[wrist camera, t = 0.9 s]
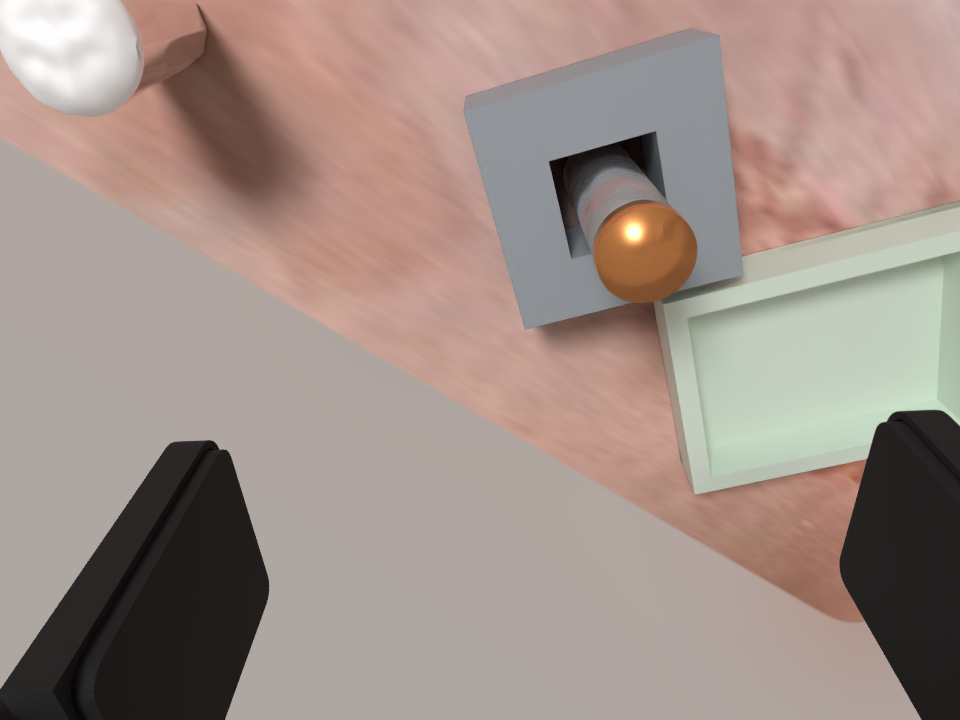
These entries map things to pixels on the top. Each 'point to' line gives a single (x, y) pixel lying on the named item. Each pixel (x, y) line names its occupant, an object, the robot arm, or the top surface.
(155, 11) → the milkshake
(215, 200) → the top surface
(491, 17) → the top surface
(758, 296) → the tray
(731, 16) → the top surface
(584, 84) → the socket block
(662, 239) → the pin
